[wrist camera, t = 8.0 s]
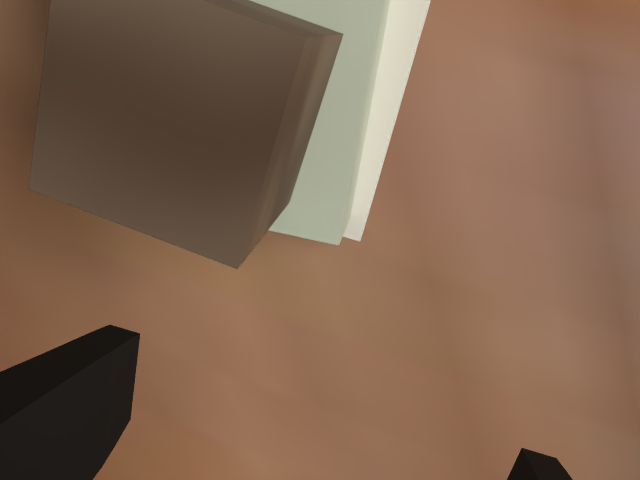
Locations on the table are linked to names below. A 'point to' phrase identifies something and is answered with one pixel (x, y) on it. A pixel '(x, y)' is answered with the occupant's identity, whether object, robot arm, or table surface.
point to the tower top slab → (335, 117)
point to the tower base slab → (386, 102)
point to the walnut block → (179, 116)
